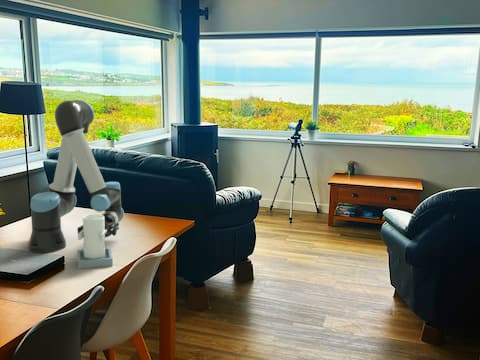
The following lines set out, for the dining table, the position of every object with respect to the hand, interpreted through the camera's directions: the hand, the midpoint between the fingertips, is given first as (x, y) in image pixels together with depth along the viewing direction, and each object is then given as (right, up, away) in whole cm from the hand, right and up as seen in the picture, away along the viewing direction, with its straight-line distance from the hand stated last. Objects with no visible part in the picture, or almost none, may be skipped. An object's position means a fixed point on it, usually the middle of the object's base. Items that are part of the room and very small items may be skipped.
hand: (90, 237), depth 182 cm
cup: (0, -8, +6) cm, 10 cm away
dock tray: (0, -11, +7) cm, 13 cm away
